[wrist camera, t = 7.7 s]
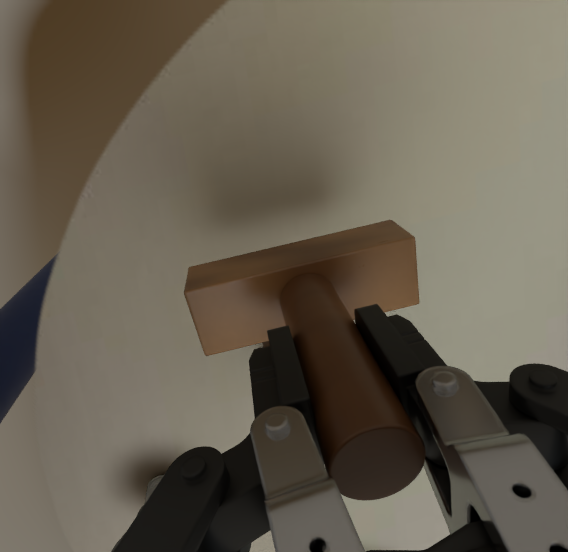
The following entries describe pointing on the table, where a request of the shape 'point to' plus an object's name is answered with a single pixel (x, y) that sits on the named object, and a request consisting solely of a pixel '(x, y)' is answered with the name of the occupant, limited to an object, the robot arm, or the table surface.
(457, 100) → the table surface
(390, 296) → the wooden rubber stamp
